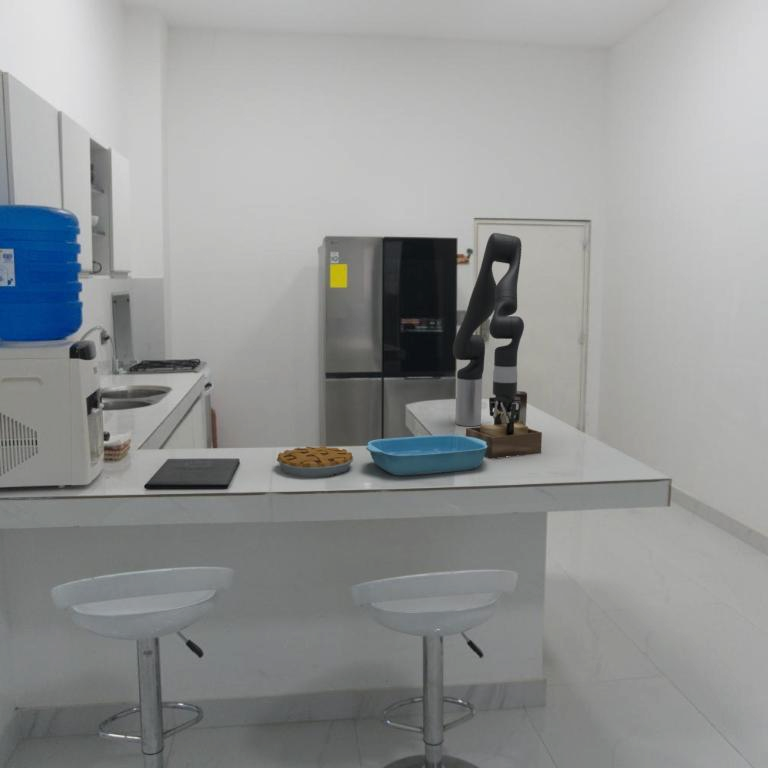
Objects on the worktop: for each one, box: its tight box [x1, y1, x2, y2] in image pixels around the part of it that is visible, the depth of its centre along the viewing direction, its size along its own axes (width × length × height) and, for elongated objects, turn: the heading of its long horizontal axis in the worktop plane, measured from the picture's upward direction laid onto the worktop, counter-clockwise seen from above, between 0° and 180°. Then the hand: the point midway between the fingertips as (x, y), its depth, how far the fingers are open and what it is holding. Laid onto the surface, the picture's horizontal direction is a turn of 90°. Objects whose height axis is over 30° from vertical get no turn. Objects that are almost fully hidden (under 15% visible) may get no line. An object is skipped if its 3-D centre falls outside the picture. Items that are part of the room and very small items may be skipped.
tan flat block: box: [479, 423, 529, 437], centre depth 234 cm, size 14×6×3 cm, turn 104°
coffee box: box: [498, 390, 528, 426], centre depth 251 cm, size 9×6×16 cm
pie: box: [276, 445, 354, 478], centre depth 213 cm, size 22×22×5 cm
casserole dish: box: [365, 434, 487, 477], centre depth 216 cm, size 37×22×7 cm, turn 112°
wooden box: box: [465, 426, 543, 459], centre depth 235 cm, size 15×18×6 cm
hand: (503, 432), depth 234 cm, fingers closed on tan flat block, 6 cm apart
